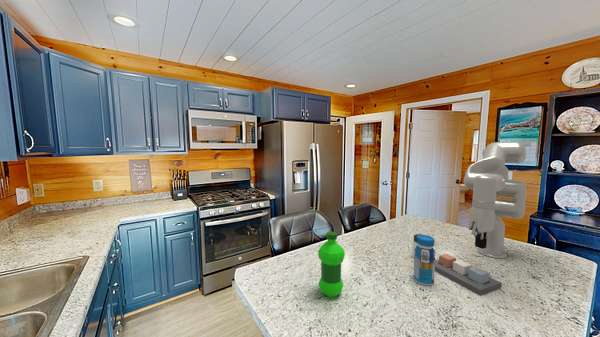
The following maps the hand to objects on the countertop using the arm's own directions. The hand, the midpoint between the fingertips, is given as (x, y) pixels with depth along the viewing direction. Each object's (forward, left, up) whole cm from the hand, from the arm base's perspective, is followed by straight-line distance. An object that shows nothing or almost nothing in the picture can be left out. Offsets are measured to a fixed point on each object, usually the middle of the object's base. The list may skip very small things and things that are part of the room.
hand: (480, 246), depth 98 cm
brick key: (0, -14, -15) cm, 20 cm away
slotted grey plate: (0, -7, -17) cm, 18 cm away
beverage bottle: (+19, -11, -17) cm, 28 cm away
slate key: (0, 0, -15) cm, 15 cm away
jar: (+2, -27, -17) cm, 32 cm away
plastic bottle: (+62, -18, -17) cm, 67 cm away
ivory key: (0, -7, -15) cm, 16 cm away
